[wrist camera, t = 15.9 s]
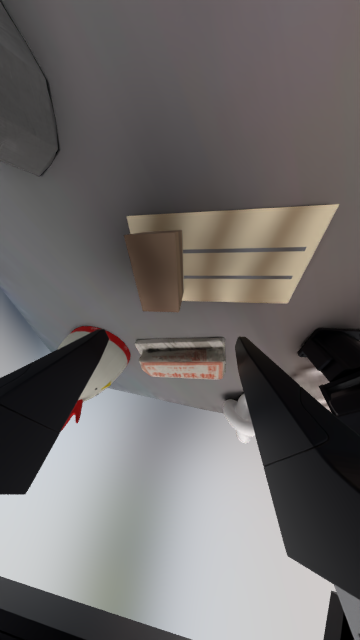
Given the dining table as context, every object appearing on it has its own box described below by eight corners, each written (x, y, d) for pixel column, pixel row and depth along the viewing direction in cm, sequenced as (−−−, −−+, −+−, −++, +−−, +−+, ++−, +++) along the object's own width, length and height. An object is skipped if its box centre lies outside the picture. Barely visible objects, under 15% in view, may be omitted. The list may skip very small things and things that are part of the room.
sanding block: (182, 229, 14) (174, 232, 10) (183, 290, 18) (179, 312, 14) (146, 231, 14) (123, 235, 10) (156, 290, 19) (142, 311, 14)
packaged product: (229, 355, 20) (226, 387, 26) (224, 334, 24) (222, 366, 30) (126, 356, 24) (143, 384, 30) (136, 337, 28) (150, 365, 33)
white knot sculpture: (253, 382, 32) (269, 429, 25) (277, 401, 36) (297, 446, 28) (216, 394, 37) (220, 435, 30) (241, 409, 41) (249, 448, 34)
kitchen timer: (128, 371, 36) (92, 445, 24) (77, 356, 34) (12, 428, 22) (132, 338, 27) (80, 427, 15) (65, 317, 26) (-48, 397, 14)
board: (328, 205, 12) (339, 204, 11) (283, 299, 18) (287, 303, 17) (131, 216, 15) (126, 216, 14) (147, 296, 21) (145, 299, 20)
